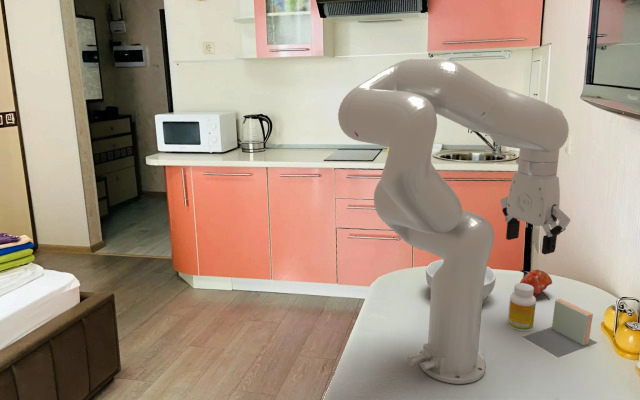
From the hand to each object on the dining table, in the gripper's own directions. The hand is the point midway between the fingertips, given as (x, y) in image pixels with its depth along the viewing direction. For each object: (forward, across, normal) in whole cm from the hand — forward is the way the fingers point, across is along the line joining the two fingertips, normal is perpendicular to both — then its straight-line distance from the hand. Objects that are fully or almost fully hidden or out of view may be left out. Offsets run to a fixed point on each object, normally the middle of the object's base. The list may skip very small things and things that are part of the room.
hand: (529, 245), depth 114 cm
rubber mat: (+19, +9, +2) cm, 21 cm away
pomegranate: (+20, -9, +15) cm, 26 cm away
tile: (+19, +9, +5) cm, 21 cm away
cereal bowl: (+20, -18, -2) cm, 27 cm away
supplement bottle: (+20, 0, 0) cm, 20 cm away
